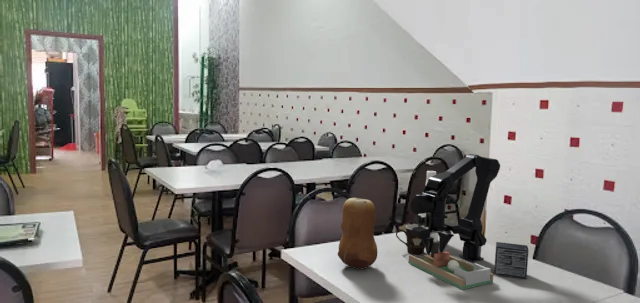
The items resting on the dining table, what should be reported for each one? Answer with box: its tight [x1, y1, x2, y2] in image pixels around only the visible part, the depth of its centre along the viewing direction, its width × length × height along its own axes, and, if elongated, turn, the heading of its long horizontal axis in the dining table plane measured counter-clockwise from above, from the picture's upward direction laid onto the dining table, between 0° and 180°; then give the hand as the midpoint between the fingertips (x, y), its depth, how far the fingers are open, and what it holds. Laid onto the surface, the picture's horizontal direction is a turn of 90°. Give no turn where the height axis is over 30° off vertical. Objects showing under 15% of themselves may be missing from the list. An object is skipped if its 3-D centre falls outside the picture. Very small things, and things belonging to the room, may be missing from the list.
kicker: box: [422, 241, 451, 267], centre depth 176 cm, size 6×8×7 cm
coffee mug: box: [395, 224, 428, 256], centre depth 192 cm, size 12×9×10 cm
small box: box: [493, 241, 530, 280], centre depth 170 cm, size 11×6×10 cm, turn 71°
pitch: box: [407, 252, 494, 290], centre depth 170 cm, size 14×27×5 cm, turn 29°
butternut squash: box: [337, 197, 378, 270], centre depth 171 cm, size 14×13×25 cm
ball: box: [447, 260, 459, 272], centre depth 168 cm, size 4×4×4 cm
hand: (434, 253), depth 177 cm, fingers open, 6 cm apart
